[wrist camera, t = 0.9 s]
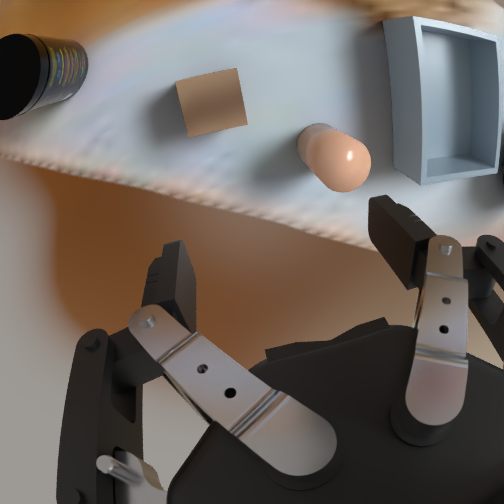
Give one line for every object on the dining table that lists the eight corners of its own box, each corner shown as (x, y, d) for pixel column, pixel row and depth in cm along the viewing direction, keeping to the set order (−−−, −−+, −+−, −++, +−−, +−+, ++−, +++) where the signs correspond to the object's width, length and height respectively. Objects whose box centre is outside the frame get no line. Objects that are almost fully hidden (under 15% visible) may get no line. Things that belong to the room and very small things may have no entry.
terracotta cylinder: (293, 126, 29) (315, 142, 24) (339, 120, 30) (369, 135, 24) (299, 171, 32) (321, 196, 26) (342, 164, 32) (371, 187, 27)
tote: (382, 20, 23) (412, 16, 18) (467, 34, 23) (499, 36, 19) (393, 167, 33) (420, 185, 28) (469, 157, 33) (497, 173, 28)
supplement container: (80, 27, 20) (28, 15, 12) (100, 81, 24) (52, 90, 15) (28, 61, 21) (-32, 68, 12) (47, 112, 24) (-9, 136, 16)
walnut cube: (180, 80, 26) (175, 81, 21) (232, 68, 26) (236, 67, 21) (191, 127, 28) (188, 137, 24) (241, 116, 28) (247, 124, 24)
